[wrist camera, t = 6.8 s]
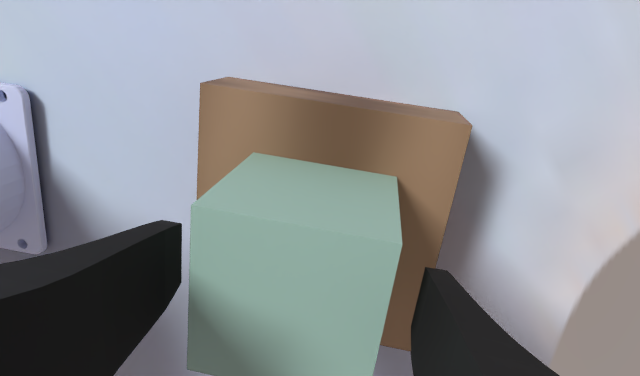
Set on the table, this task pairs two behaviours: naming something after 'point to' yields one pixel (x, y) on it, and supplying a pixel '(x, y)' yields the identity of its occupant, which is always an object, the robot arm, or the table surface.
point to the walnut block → (346, 160)
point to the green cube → (291, 269)
